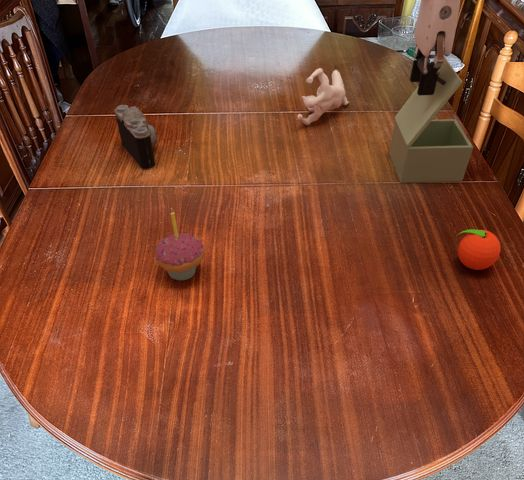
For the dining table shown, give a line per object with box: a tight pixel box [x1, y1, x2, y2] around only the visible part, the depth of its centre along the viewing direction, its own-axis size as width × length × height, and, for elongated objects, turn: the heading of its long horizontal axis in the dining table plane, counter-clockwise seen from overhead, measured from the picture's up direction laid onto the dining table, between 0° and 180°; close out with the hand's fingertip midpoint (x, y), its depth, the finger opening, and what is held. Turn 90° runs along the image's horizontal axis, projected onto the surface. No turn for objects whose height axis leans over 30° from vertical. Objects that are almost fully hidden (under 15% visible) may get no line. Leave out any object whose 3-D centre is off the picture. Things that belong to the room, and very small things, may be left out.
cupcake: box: [154, 207, 205, 281], centre depth 86 cm, size 9×8×12 cm
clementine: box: [457, 228, 501, 271], centre depth 89 cm, size 8×7×7 cm
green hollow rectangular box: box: [388, 118, 474, 184], centre depth 111 cm, size 14×13×8 cm
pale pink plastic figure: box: [296, 67, 350, 126], centre depth 127 cm, size 13×13×18 cm
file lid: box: [394, 56, 463, 147], centre depth 102 cm, size 14×13×6 cm
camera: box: [114, 104, 158, 171], centre depth 115 cm, size 15×7×10 cm, turn 31°
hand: (421, 86), depth 101 cm, fingers closed on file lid, 5 cm apart
